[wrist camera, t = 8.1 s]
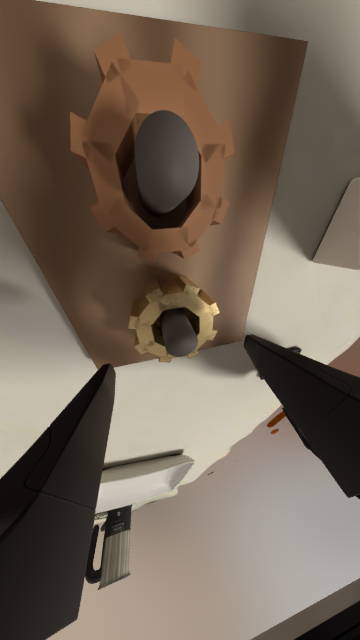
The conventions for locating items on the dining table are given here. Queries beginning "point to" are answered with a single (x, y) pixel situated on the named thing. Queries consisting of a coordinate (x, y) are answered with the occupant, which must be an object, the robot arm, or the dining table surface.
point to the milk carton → (343, 232)
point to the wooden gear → (170, 298)
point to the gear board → (70, 192)
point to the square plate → (141, 481)
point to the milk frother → (111, 548)
